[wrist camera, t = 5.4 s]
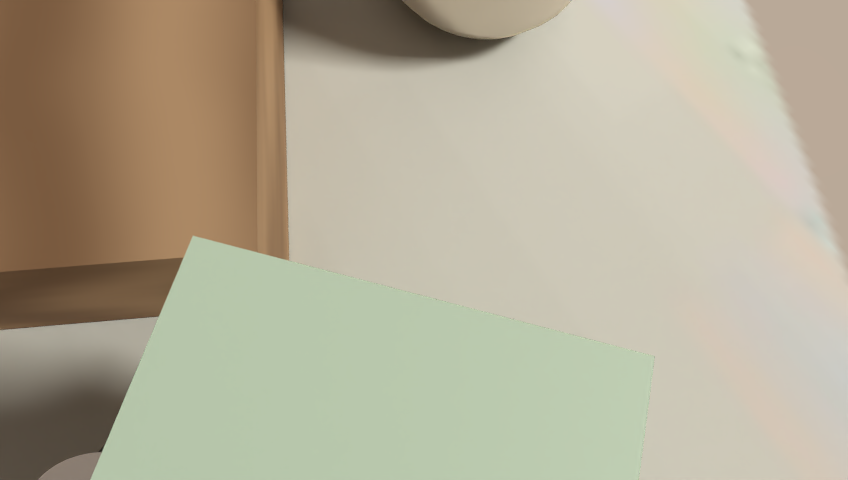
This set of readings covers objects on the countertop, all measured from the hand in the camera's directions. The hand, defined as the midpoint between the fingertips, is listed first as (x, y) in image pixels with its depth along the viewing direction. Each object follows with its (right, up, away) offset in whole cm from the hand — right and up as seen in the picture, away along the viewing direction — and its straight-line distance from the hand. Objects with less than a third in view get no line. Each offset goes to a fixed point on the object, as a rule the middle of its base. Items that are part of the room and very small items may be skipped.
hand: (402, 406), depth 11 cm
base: (-8, +6, +6) cm, 12 cm away
